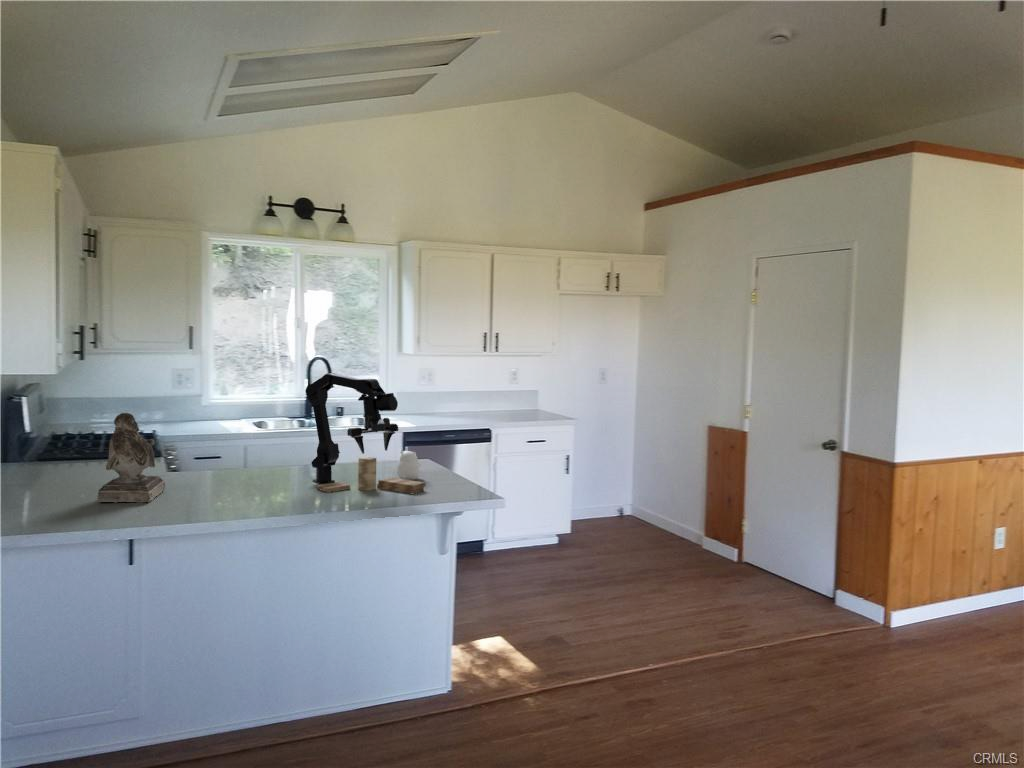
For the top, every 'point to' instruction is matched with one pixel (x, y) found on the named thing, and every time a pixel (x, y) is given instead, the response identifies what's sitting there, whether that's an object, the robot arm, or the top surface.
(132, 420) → the sculpture
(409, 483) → the plank stack
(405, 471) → the figurine
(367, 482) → the upright offcut
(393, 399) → the robot arm
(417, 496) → the top surface
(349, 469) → the top surface
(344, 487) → the loose offcut
